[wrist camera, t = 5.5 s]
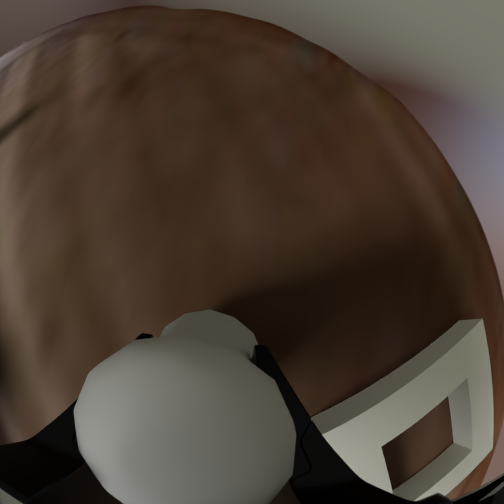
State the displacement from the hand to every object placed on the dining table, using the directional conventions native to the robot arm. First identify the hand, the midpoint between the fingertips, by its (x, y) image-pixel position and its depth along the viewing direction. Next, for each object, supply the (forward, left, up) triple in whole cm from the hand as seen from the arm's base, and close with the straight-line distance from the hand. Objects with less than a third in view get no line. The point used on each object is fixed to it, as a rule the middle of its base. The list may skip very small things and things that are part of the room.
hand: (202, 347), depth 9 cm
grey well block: (+12, -16, -8) cm, 21 cm away
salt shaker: (-1, -1, -7) cm, 7 cm away
